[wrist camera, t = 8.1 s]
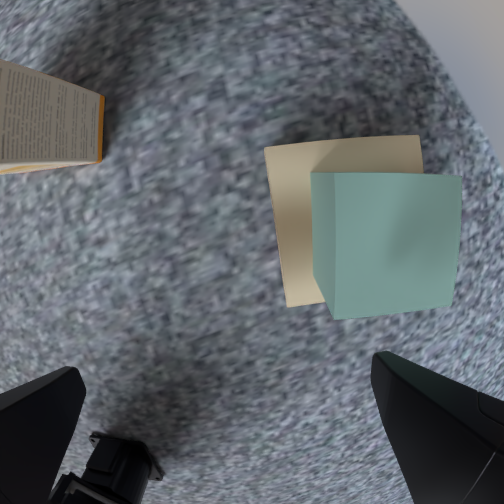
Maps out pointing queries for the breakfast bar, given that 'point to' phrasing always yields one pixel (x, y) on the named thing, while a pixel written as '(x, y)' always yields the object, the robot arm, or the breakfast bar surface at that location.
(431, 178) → the teal cube
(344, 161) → the beech block
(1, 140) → the supplement box
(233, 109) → the breakfast bar surface
